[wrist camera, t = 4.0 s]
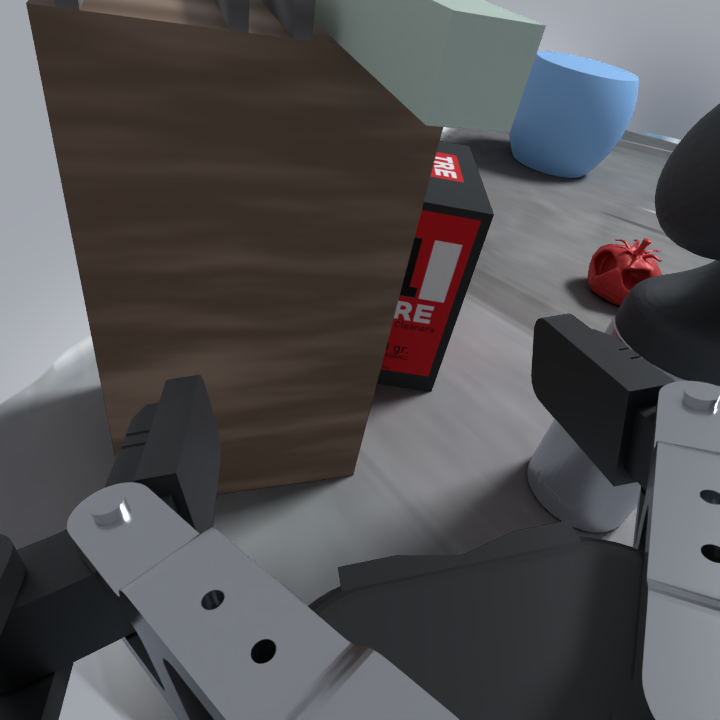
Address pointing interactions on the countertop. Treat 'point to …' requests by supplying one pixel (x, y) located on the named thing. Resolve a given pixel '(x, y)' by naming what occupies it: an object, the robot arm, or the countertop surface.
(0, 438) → the countertop surface
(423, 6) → the grey-green flat block
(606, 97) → the planter
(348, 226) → the wooden box
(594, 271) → the pomegranate
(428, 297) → the cleaning product box
